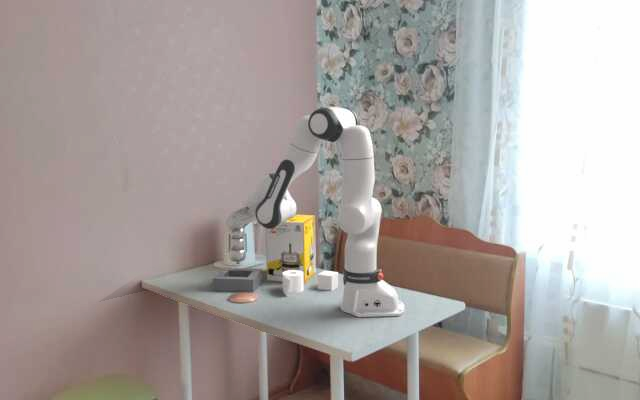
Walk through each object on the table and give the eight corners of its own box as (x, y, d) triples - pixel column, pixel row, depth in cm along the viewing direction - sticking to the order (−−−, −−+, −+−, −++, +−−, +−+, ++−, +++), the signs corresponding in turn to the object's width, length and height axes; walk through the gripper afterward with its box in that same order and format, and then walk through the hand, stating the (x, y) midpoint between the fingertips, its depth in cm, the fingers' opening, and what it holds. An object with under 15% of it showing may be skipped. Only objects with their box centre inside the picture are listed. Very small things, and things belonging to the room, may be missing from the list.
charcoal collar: (262, 280, 234) (262, 268, 233) (253, 292, 219) (253, 279, 219) (224, 279, 236) (224, 267, 235) (213, 290, 221) (212, 278, 221)
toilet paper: (286, 296, 214) (286, 279, 213) (280, 288, 225) (280, 270, 223) (307, 294, 216) (307, 277, 215) (300, 286, 227) (300, 269, 226)
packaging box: (315, 272, 246) (315, 215, 242) (304, 283, 230) (303, 222, 226) (280, 269, 250) (279, 213, 246) (266, 280, 234) (265, 220, 231)
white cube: (317, 289, 223) (317, 274, 222) (324, 284, 228) (324, 270, 227) (331, 291, 220) (331, 276, 219) (338, 286, 225) (338, 272, 224)
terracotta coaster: (261, 294, 217) (261, 292, 217) (254, 303, 206) (254, 302, 206) (233, 293, 218) (233, 291, 218) (224, 302, 208) (224, 301, 208)
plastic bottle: (230, 263, 222) (229, 213, 219) (228, 259, 228) (227, 210, 226) (247, 262, 224) (246, 212, 221) (244, 258, 230) (243, 209, 227)
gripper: (243, 216, 209) (223, 240, 215) (274, 207, 226) (255, 230, 232) (233, 203, 210) (213, 227, 216) (265, 196, 228) (246, 218, 234)
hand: (235, 228), depth 225 cm, fingers closed on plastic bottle, 6 cm apart
